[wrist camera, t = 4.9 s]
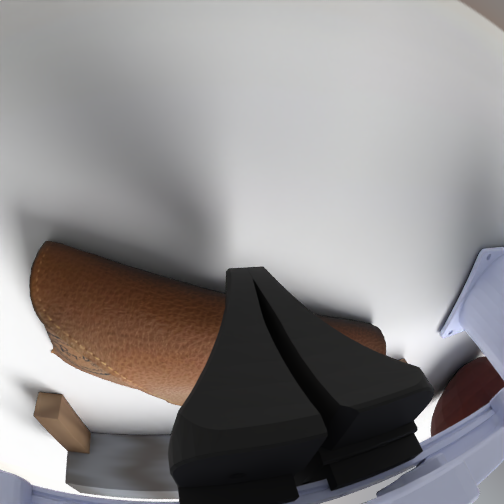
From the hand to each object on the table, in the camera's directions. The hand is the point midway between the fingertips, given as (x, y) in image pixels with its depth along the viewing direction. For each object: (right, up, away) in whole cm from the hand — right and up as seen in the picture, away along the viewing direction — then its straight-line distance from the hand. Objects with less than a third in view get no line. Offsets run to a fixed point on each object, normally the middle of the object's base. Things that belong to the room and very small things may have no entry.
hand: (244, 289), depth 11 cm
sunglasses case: (-2, -3, +5) cm, 6 cm away
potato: (+24, -13, +16) cm, 32 cm away
